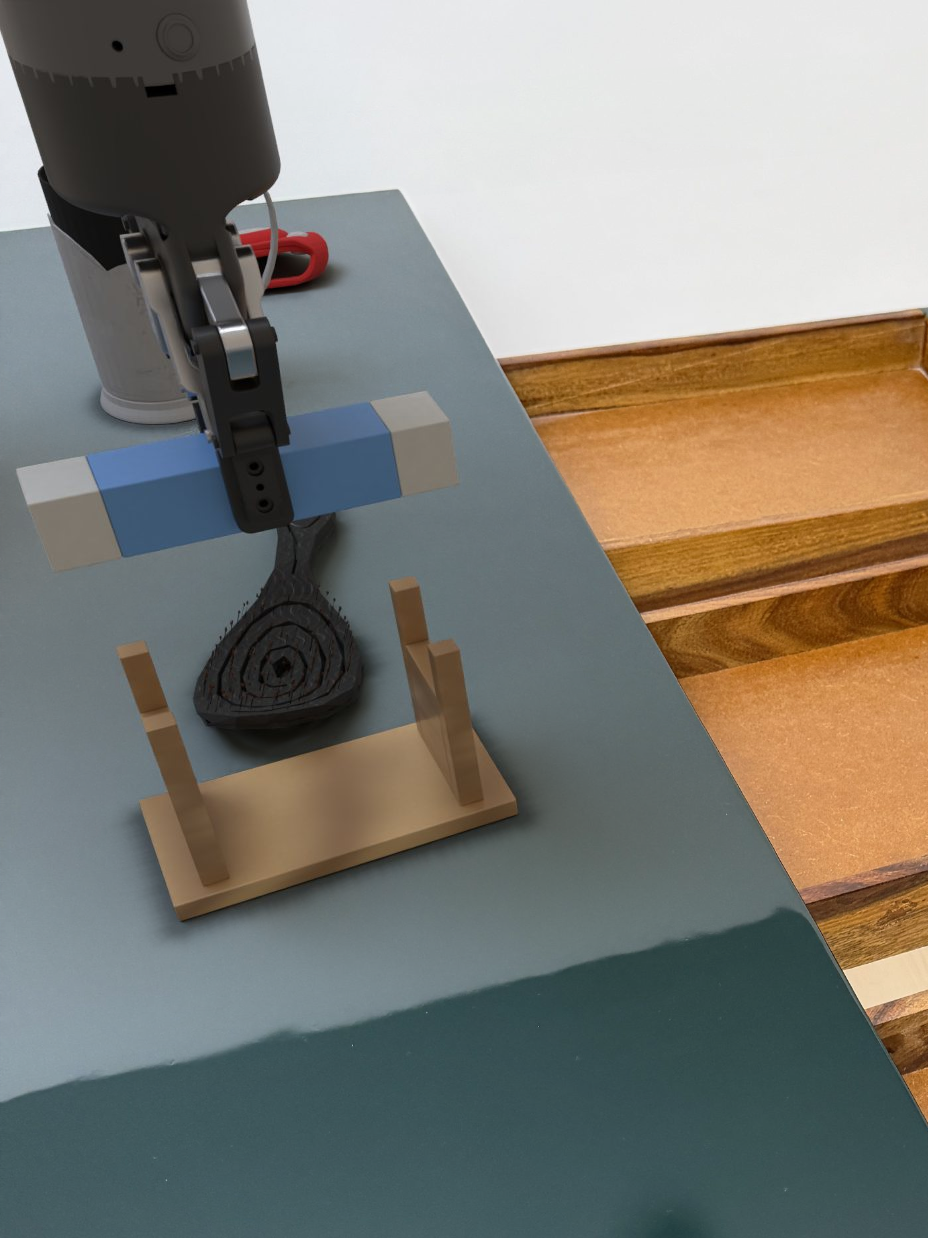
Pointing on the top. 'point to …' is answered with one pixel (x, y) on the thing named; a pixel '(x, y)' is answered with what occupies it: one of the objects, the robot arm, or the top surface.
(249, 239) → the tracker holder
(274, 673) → the hairbrush
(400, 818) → the holder
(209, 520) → the handle
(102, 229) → the glass holder
